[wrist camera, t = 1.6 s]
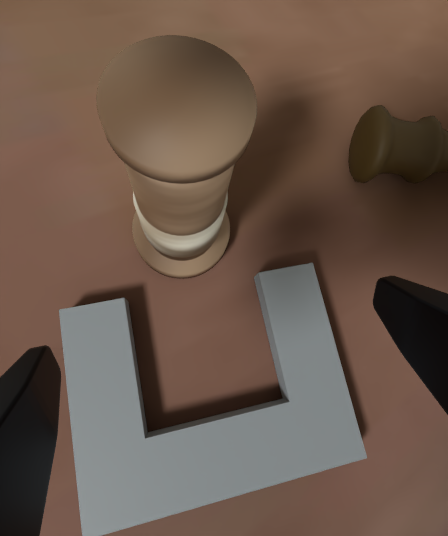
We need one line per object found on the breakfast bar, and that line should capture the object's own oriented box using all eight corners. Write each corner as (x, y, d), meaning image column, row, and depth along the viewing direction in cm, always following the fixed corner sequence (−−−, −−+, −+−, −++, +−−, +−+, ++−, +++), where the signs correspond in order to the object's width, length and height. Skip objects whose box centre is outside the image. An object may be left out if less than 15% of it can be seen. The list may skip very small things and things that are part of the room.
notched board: (354, 450, 21) (367, 457, 20) (90, 526, 19) (82, 540, 17) (305, 268, 24) (312, 262, 22) (67, 312, 21) (59, 309, 20)
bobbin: (242, 216, 24) (303, 73, 12) (202, 294, 22) (224, 224, 10) (163, 176, 24) (140, -7, 12) (117, 251, 22) (34, 129, 10)
